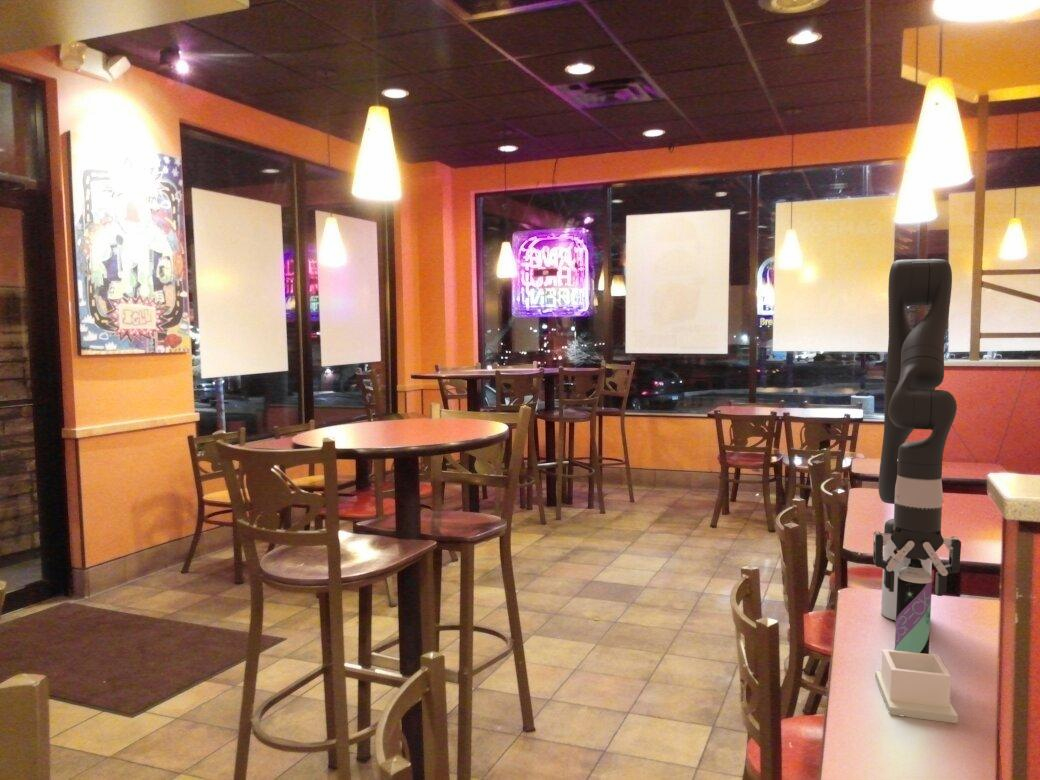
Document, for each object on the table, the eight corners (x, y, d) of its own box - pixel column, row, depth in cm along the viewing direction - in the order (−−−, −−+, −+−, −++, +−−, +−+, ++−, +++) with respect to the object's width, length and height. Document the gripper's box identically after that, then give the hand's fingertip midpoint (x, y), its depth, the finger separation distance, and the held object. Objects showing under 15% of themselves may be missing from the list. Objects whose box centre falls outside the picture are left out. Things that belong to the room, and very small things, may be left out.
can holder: (875, 677, 136) (876, 642, 136) (936, 684, 134) (937, 649, 133) (889, 714, 123) (890, 676, 122) (957, 723, 120) (959, 684, 120)
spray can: (888, 661, 143) (893, 554, 142) (919, 662, 143) (923, 554, 141) (902, 674, 138) (907, 563, 136) (933, 675, 137) (938, 563, 136)
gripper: (957, 500, 140) (953, 590, 141) (870, 495, 144) (867, 582, 145) (969, 509, 132) (964, 603, 134) (877, 503, 136) (873, 595, 138)
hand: (914, 592), depth 139 cm, fingers open, 7 cm apart
